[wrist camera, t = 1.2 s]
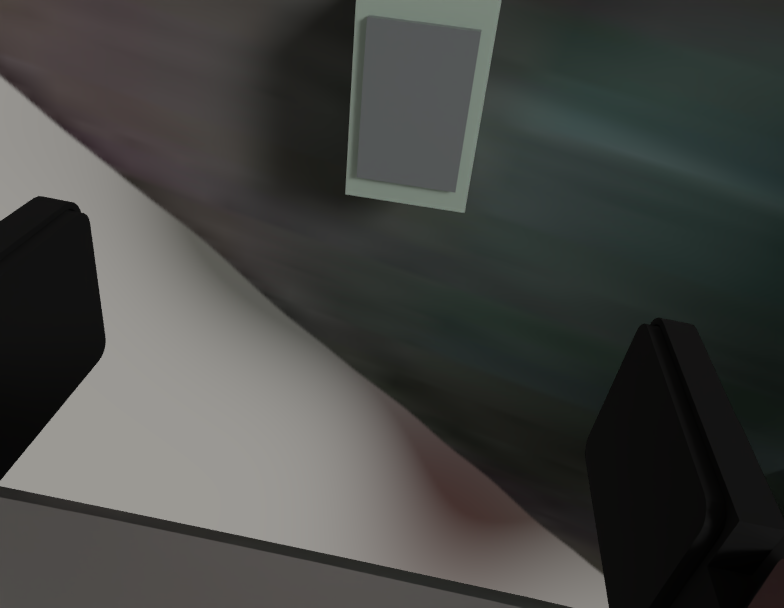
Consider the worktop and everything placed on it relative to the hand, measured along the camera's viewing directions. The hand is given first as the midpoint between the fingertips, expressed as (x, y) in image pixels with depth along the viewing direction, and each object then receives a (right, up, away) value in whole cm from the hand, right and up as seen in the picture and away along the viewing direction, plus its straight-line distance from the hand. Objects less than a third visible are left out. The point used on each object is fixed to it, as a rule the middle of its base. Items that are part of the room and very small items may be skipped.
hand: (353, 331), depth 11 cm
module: (+3, +12, +19) cm, 22 cm away
